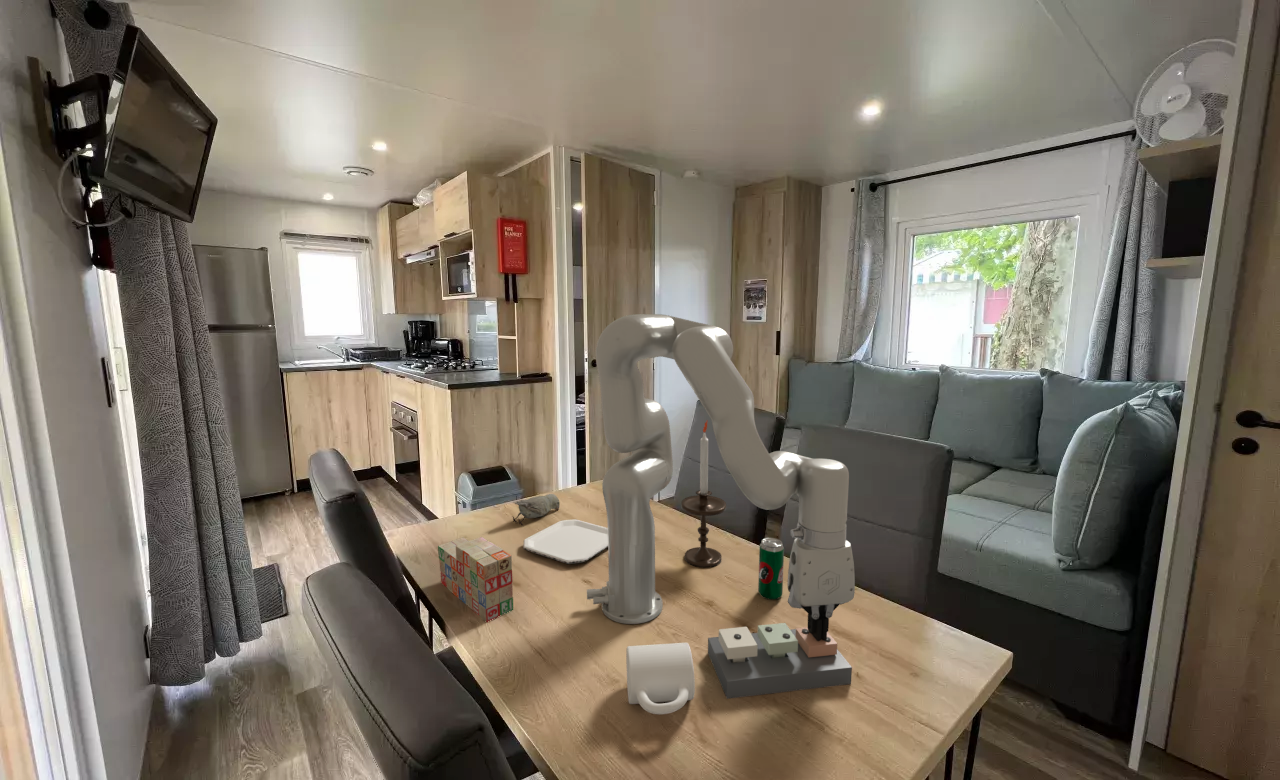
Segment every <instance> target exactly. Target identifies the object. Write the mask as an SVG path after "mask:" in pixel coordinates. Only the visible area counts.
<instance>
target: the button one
mask: <svg viewBox="0 0 1280 780" xmlns="http://www.w3.org/2000/svg"><path fill="white" fill-rule="evenodd" d="M751 633H752V632H751V631H750V630H749V628H748V627H747V626H739V627H729V628H720V629H718V637H719V642H720V644H721V646H722V648H723V650H724V653H725V655H726V657H727V659H730V661H731V663H736V662H745V657H755V656H757V643H756V642H755V640H754V638H753V636H752V635H751Z"/></svg>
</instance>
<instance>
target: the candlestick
mask: <svg viewBox="0 0 1280 780" xmlns="http://www.w3.org/2000/svg"><path fill="white" fill-rule="evenodd" d="M707 428H708V419H706V422H704V426H703V429H702V431H703V432H702V437H701V438H700V442H699V443H700V446H699V447H700V450H699V451H700V452H699V455H700V456H699V458H700V459H699V460H700V461H699V464H700V465H699V490H696V491H695V494H696V495H690V496H688V497H685V498H683V499H682V500H681V503H680V508H681V509H682V511H684V512H686V513H688V514H691V515H694V516H700V526H699V527H698V528H697V532H698V534H699V537H698V542H699V544H700V546H697V547H691V548H689V549H687V550H686V551H685V552H684V560H685V562H686V563H687V564H688V565H690V566H692V567H695V568H703V569H711V568H714V567H716V566H719V565H720V564H721V563H722V554H721V552H719V551H718V550H717V549H714V548H711V547H707V542H708V541H709V538H708V537H707V536H708V534H709V533H710V528H709V527H707V517H711V516H718V515H721V514H723V513H724V512H726V510H727V502H726V501H725V500H724V499H722V498H720V497H717V496H712V494H713V493H712V491H711V490H708V489H709V481H708V480H709V438H708V437H707V434H706V432H707Z"/></svg>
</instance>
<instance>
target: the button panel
mask: <svg viewBox="0 0 1280 780" xmlns="http://www.w3.org/2000/svg"><path fill="white" fill-rule="evenodd" d="M790 630H791V632H792V633H793V634H794V636H796V628H794V629H791V628H790ZM750 633H751V635H752V636H753V638H754V640H755V642H756V643H757V656H755V657H745V662H736V663H731V661H730V659H727V657H726V655H725V653H724V650H723V648H722V646H721V644H720V642H719V636H713V637H708V638H707V654H708V657H709V659H710V661H711V665H712V666H713V667H712V668H714V669H713V670H714V672H715V673H716V676H717V678H718V681H719V683H720V686H721V688H722V690H723V693H724V695H725V697H726V699H736V698H744V697H752V696H761V695H771V694H778V693H786V692H794V691H795V692H796V691H803V690H811V689H820V688H829V687H838V686H845V685H851V684H852V675H853V667H852V666H851V664H850V663H849V662H848V660H847V659H846V658H845V657H844V656H843V654H842V653H841V652H840V651H839V650H838V648H837V654H836V655H827V656H818V657H808V656H807V654H806V653H805V652H804V650H803V649H802V647H801V646H800V645H799V643H798V652H792V653H785V657H782V658H773V659H772V658H771V656H770V655H769V654H768V653H767V651H766V649H765V648H764V646H763V644H762V643H761V641H760V639H759V638H758V632H753V633H752V632H750Z"/></svg>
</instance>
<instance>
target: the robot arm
mask: <svg viewBox="0 0 1280 780" xmlns="http://www.w3.org/2000/svg"><path fill="white" fill-rule="evenodd" d="M733 354H734V345H733V341H732V339H731V336H730V335H729V334H728V333H727V331H725V330H724V329H723V328H721V327H718V326H717V325H716V326H715V325H712V324H708V323H707V324H706V323H703V322H698V321H693V320H689V319H686V318H685V319H684V318H681V317H677V316H672V315H669V314H668V315H667V314H661V313H660V314H659V313H657V314H656V313H654V314H653V313H652V314H650V313H649V314H647V313H644V314H643V313H641V314H640V313H638V314H629V315H623V316H622V317H618V318H617V319H615V320H613V321H612V322H610V323H609V324H608V325H606V327H605V328H604V329H603V330H602V332H601V334H599V338H598V340H597V342H596V348H595V361H596V368H597V369H596V370H597V373H598V380H599V388H600V401H601V413H602V423H603V432H604V436H605V441H606V444H607V445H608V447H609V448H610V449H611V450H612V451H614V452H615V453H618V454H620V453H621V454H627V453H631V455H628V456H626V457H624V458H622V459H620V460H618V461H617V462H615V463H613V464H612V465H611V466H610V467H609V468H608V469H607V471H606V472H605V474H604V476H603V479H602V484H601V485H602V489H601V490H602V495H603V500H604V504H605V509H606V510H605V511H606V518H607V519H606V520H607V523H606V524H607V528H608V547H607V549H608V556H607V557H608V580H606V582H605V583H606V586H602V587H601V588H589V589H586V599H587V600H593V603H592V604H593V605H600V604H601V610H602V612H603V614H604V615H605V616H606V617H607V619H609V620H612V621H614V622H617V623H620V624H625V625H626V624H627V625H637V624H643V623H647V622H650V621H651V620H653V619H655V618H657V617H658V616H659V615H660V614H661V612H662V611H663V605H664V604H663V599H662V596H661V595H660V594H659V593H658V592H657V591H656V535H655V534H656V532H655V531H656V529H655V528H656V526H655V517H654V515H653V512H652V508H651V506H650V505H651V504H650V502H651V499H652V498H653V497H654V496H656V495H657V494H659V493H660V492H661V491H663V490H665V488H666V487H667V486H668V485H669V484H670V482H671V480H672V477H673V473H674V463H673V462H674V460H673V450H672V449H673V448H672V437H671V428H670V421H669V418H668V414H667V412H666V411H665V408H664V407H663V405H661V404H660V403H659V402H658V401H656V400H655V399H651V398H646V397H645V387H644V380H643V375H642V374H641V371H640V369H639V367H638V363H639V362H640V361H641V360H645V359H647V360H648V359H653V358H661V357H662V358H667V359H671V360H674V362H675V363H676V366H677V367H678V369H679V371H680V372H681V374H682V375H683V376H684V378H685V380H686V381H687V383H688V384H689V386H690V387H691V389H692V391H693V392H694V394H695V396H696V397H697V398H698V400H699V401H700V403H701V405H702V407H703V408H704V409H705V411H706V413H707V414H708V416H709V418H710V420H711V423H712V428H713V429H712V430H713V434H714V437H715V440H716V443H717V447H718V450H719V453H720V455H721V458H722V461H723V462H724V465H725V467H726V468H727V471H728V472H729V473H730V475H731V476H732V478H733V480H734V482H735V484H736V485H737V486H738V487H739V489H740V491H741V492H742V494H743V495H744V496H745V497H746V498H747V500H748V501H750V503H751V504H753V505H754V506H756V507H758V508H759V509H763V510H766V511H767V510H769V511H771V510H772V511H773V510H777V509H780V508H781V507H782V508H783V506H784V505H786V504H787V502H789V500H790V499H791V497H792V496H795V495H796V496H798V522H797V523H796V528H794V529H790V536H791V538H792V539H793V538H794V540H793V543H792V547H791V551H790V557H789V563H788V568H787V569H788V570H787V591H788V592H789V594H788V598H787V604H788V605H789V606H790V607H791V608H794V609H800V610H801V609H803V610H804V611H805V612H806V613H807V627H808V631H809V632H810V633H811V634H812V635H813V636H814V638H815V639H816V640H817V641H820V640H821V639H822V640H827V632H828V633H829V628H830V627H829V624H830V621H829V620H830V619H831V618H832V616H833V615H834V614H833V613H834V611H835V610H836V609H837V608H838V607H839V606H840V605H843V604H846V603H849V602H851V601H852V600H853V599H854V597H855V594H856V592H855V591H856V589H855V587H856V584H855V583H856V582H855V581H856V580H855V579H856V578H855V576H856V575H855V564H854V557H853V550H852V545H851V542H850V541H848V540H847V525H848V502H849V486H850V485H849V481H850V472H849V469H848V467H847V465H845V463H843V462H841V461H838V460H835V459H829V458H811V457H808V456H803V455H801V454H798V453H797V454H796V453H793V452H790V451H789V452H788V451H785V450H776V451H773V452H770V453H769V451H768V449H767V448H766V446H765V445H764V442H763V440H762V438H761V437H760V435H759V432H758V429H757V426H756V422H755V421H756V420H755V398H754V393H753V392H752V391H753V390H751V388H750V387H749V385H748V384H747V383H746V380H745V379H744V377H742V375H741V373H740V371H738V368H736V366H735V364H734V363H733V361H732V357H733Z"/></svg>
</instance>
